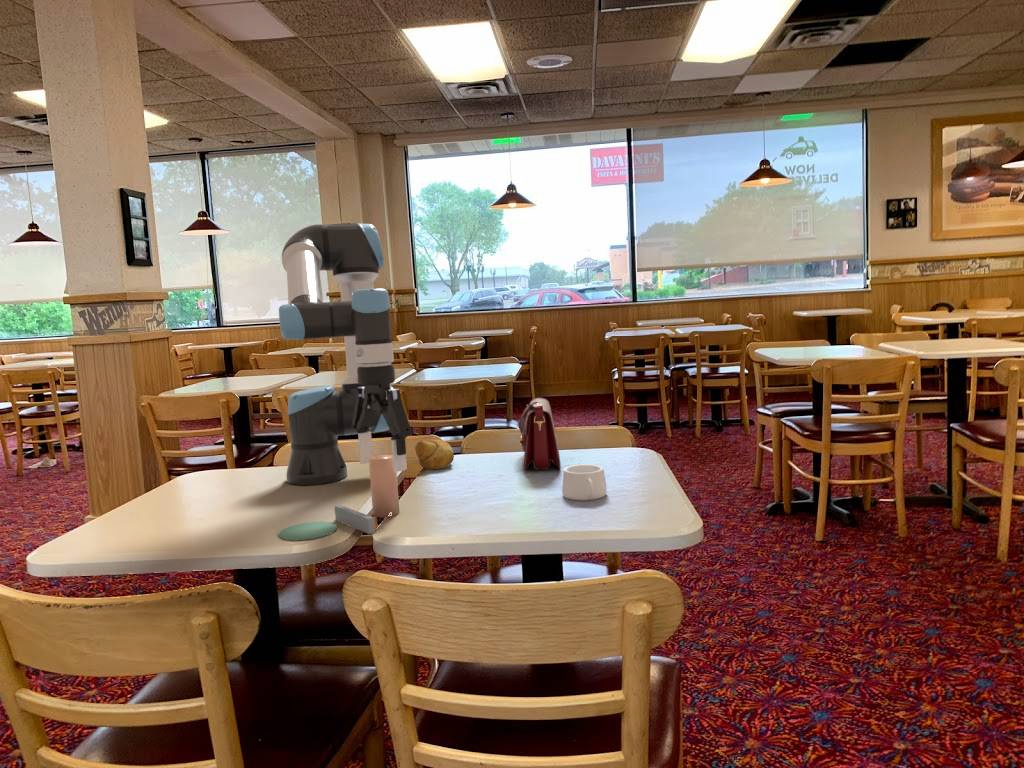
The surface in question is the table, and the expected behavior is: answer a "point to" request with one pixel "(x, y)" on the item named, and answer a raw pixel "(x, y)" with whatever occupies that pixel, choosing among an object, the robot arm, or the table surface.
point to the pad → (307, 530)
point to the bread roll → (434, 454)
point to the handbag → (539, 435)
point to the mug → (584, 482)
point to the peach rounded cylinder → (383, 486)
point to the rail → (355, 519)
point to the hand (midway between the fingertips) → (383, 466)
